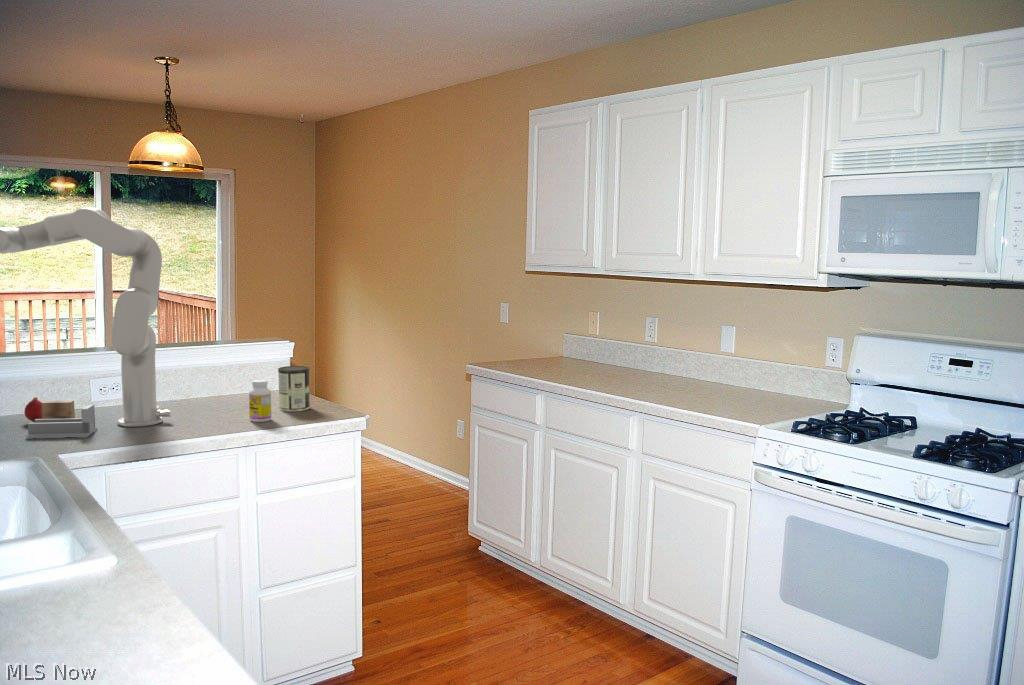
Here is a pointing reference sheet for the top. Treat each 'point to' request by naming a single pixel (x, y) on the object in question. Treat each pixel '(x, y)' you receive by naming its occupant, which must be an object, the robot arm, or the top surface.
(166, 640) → the top surface
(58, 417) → the door slab
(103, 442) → the top surface
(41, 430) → the track
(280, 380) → the coffee can
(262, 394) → the supplement bottle
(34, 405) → the onion
